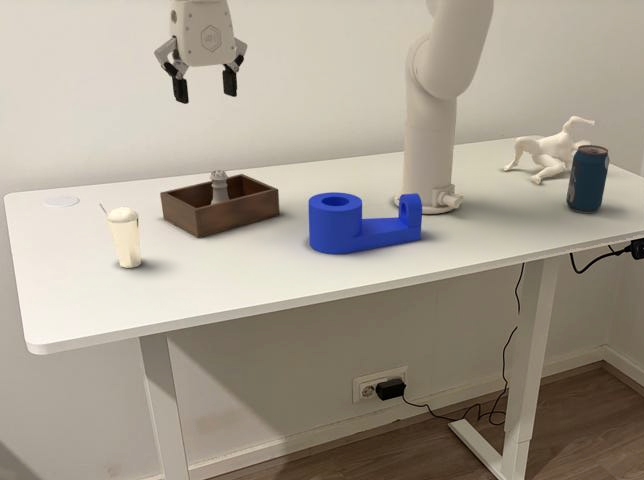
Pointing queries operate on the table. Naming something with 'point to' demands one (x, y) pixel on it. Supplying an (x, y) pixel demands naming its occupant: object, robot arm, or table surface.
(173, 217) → the crate
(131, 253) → the milkshake
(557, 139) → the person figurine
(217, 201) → the rook chess piece
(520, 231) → the table surface
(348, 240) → the bracket
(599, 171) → the soda can
